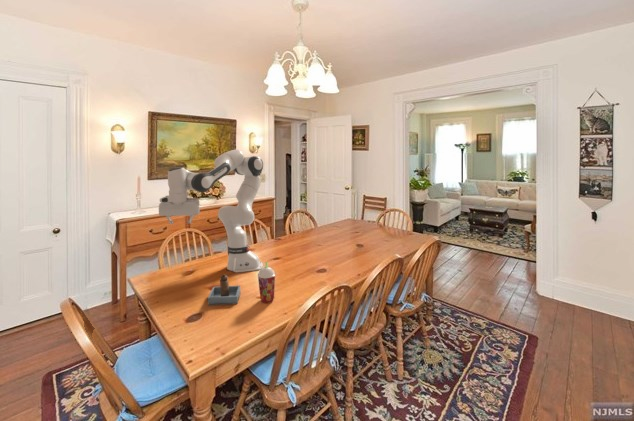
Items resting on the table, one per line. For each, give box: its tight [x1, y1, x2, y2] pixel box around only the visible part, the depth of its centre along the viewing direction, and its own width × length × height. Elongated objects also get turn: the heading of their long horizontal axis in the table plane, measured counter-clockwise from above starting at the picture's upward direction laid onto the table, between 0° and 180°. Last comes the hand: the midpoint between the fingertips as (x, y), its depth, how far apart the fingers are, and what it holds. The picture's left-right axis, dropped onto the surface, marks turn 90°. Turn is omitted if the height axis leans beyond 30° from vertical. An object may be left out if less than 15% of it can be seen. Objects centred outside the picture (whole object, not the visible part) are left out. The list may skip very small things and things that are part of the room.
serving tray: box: [207, 285, 242, 306], centre depth 156 cm, size 14×13×4 cm
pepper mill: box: [219, 273, 230, 297], centre depth 155 cm, size 4×4×12 cm
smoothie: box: [257, 261, 276, 304], centre depth 152 cm, size 8×8×20 cm
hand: (180, 223), depth 168 cm, fingers open, 8 cm apart
